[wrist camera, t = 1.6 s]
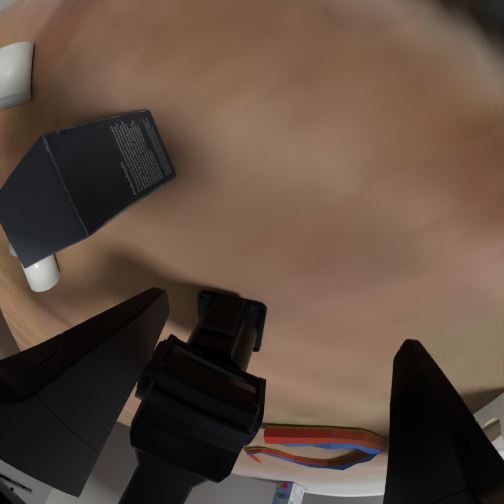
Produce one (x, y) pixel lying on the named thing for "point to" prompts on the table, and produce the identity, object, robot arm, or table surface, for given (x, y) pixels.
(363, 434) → the toy snake
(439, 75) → the table surface
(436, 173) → the table surface
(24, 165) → the small box
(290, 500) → the ink cartridge box
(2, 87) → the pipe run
